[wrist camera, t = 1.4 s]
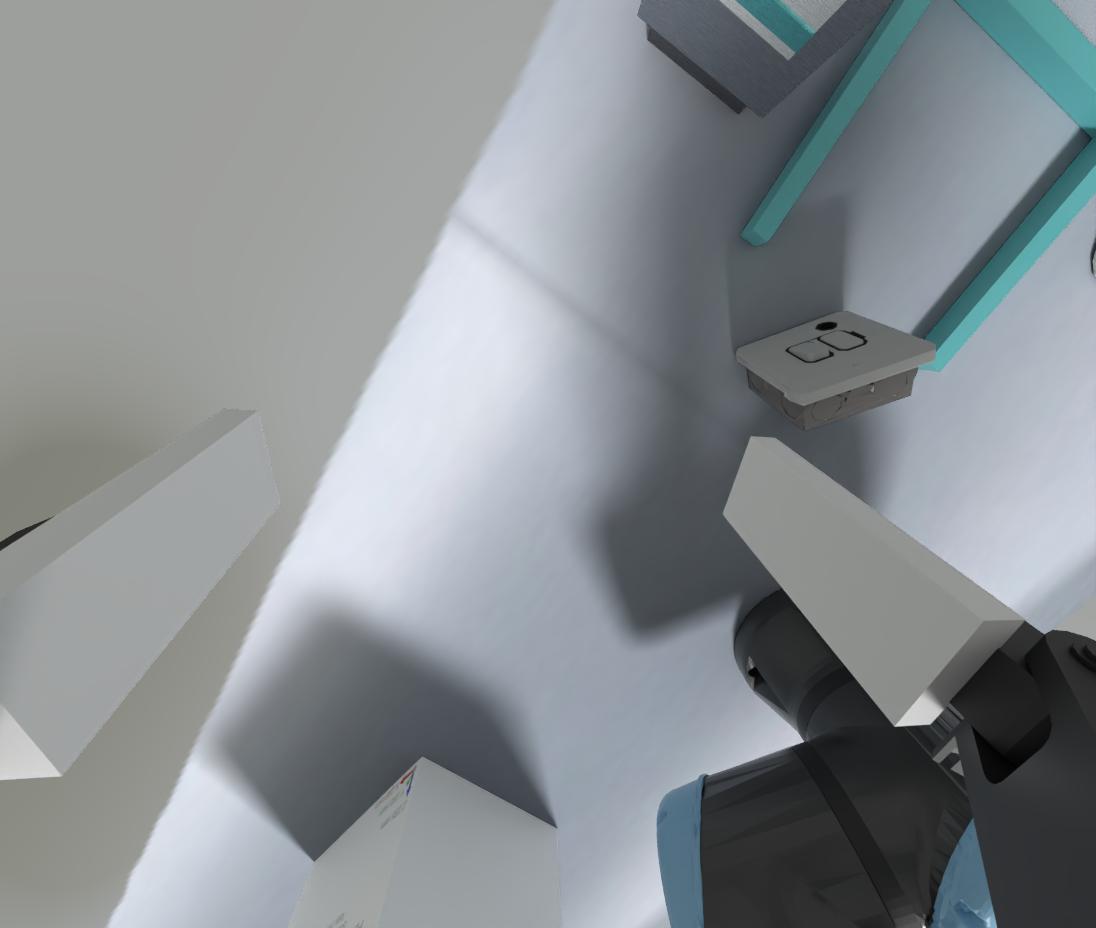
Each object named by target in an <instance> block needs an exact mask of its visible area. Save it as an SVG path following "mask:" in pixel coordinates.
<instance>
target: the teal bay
mask: <svg viewBox="0 0 1096 928" xmlns="http://www.w3.org/2000/svg"><path fill="white" fill-rule="evenodd" d="M931 1H932V0H894V1H893V3H892V4H891V6H890V8H889V9H888V11H887V12H886V14H885V15H884V17H883V18H882V20H881V21H880V23H879V24H878V26H877V27H876V29H875V30H874V32H873V33H872V35H871V36H870V38H869V40H868V41H867V43H866V44H865V46H864V47H863V49H862V50H861V52H860V53H859V55H858V56H857V58H856V59H855V61H854V62H853V64H852V65H851V67H850V68H849V70H848V72H847V73H846V75H845V76H844V78H843V79H842V81H841V82H840V84H839V85H838V87H837V88H836V90H835V91H834V93H833V94H832V96H831V97H830V99H829V100H828V102H827V103H826V105H825V107H824V108H823V110H822V111H821V113H820V114H819V116H818V117H817V119H816V120H815V122H814V123H813V125H812V126H811V128H810V129H809V131H808V132H807V134H806V135H805V137H804V139H803V140H802V142H801V143H800V145H799V146H798V148H797V149H796V151H795V152H794V154H793V155H792V157H791V158H790V160H789V161H788V163H787V164H786V166H785V167H784V169H783V171H782V172H781V174H780V175H779V177H778V178H777V180H776V181H775V183H774V184H773V186H772V187H771V189H770V190H769V192H768V193H767V195H766V196H765V198H764V199H763V201H762V202H761V204H760V206H759V207H758V209H757V210H756V212H755V213H754V215H753V216H752V218H751V219H750V221H749V222H748V224H747V225H746V227H745V228H744V230H743V231H742V233H741V234H740V236H741V237H742V238H744V239H745V240H746V241H748V242H749V243H750V244H752V245H753V246H754V247H755V246H758V245H761V244H764V243H767V242H768V241H769V240H770V238H771V237H772V236H773V234H774V233H775V231H776V230H777V228H778V227H779V225H780V224H781V222H782V221H783V219H784V218H785V216H786V215H787V213H788V212H789V210H790V209H791V208H792V206H793V205H794V203H795V202H796V200H797V199H798V197H799V196H800V194H801V193H802V191H803V190H804V188H805V187H806V185H807V184H808V182H809V181H810V179H811V178H812V177H813V175H814V174H815V172H816V171H817V169H818V168H819V166H820V165H821V163H822V162H823V160H824V159H825V157H826V156H827V154H828V153H829V151H830V150H831V149H832V147H833V146H834V144H835V143H836V141H837V140H838V138H839V137H840V135H841V134H842V132H843V131H844V129H845V128H846V126H847V125H848V123H849V122H850V121H851V119H852V118H853V116H854V115H855V113H856V112H857V110H858V109H859V107H860V106H861V104H862V103H863V101H864V100H865V98H866V97H867V95H868V94H869V93H870V91H871V90H872V88H873V87H874V85H875V84H876V82H877V81H878V79H879V78H880V76H881V75H882V73H883V72H884V70H885V69H886V67H887V66H888V65H889V63H890V62H891V60H892V59H893V57H894V56H895V54H896V53H897V51H898V50H899V48H900V47H901V45H902V44H903V42H904V41H905V39H906V38H907V36H908V35H909V34H910V32H911V31H912V29H913V28H914V26H915V25H916V23H917V22H918V20H919V19H920V17H921V16H922V14H923V13H924V11H925V10H926V8H927V7H928V6H929V4H930V3H931ZM955 1H956V2H957V3H958V4H959V5H960V6H961V7H962V8H963V9H964V10H965V11H966V12H967V13H968V14H969V15H970V16H971V17H972V18H973V19H974V20H975V21H976V22H977V23H978V24H979V25H980V26H981V27H982V28H983V29H984V30H985V31H986V32H987V33H988V34H989V35H990V36H991V37H992V38H993V39H994V40H995V41H996V42H997V43H998V44H999V45H1000V46H1001V47H1002V48H1003V49H1004V50H1005V51H1006V52H1007V54H1008V55H1009V56H1010V57H1011V58H1012V59H1013V60H1014V61H1015V62H1016V63H1017V64H1018V65H1019V66H1020V67H1021V68H1022V69H1023V70H1024V71H1025V72H1026V73H1027V74H1028V75H1029V76H1030V77H1031V78H1032V79H1033V80H1034V81H1035V82H1036V83H1037V84H1038V85H1039V86H1040V87H1041V88H1042V89H1043V90H1044V91H1045V92H1046V93H1047V94H1048V95H1049V96H1050V97H1051V98H1052V99H1053V100H1054V101H1055V102H1056V103H1057V104H1058V105H1059V106H1060V107H1061V108H1062V109H1063V110H1064V111H1065V112H1066V113H1067V114H1068V115H1069V116H1070V117H1071V118H1072V119H1073V120H1074V121H1075V122H1076V123H1077V124H1078V125H1079V126H1080V127H1081V128H1082V129H1083V130H1084V131H1085V132H1086V133H1087V134H1088V135H1089V136H1090V137H1091V138H1092V139H1091V141H1090V142H1089V143H1088V144H1087V145H1086V146H1085V148H1084V149H1083V150H1082V151H1081V152H1080V154H1079V155H1078V156H1077V157H1076V158H1075V160H1074V161H1073V162H1072V163H1071V164H1070V166H1069V167H1068V168H1067V169H1066V170H1065V172H1064V173H1063V174H1062V175H1061V176H1060V178H1059V179H1058V180H1057V181H1056V182H1055V184H1054V185H1053V186H1052V187H1051V188H1050V189H1049V191H1048V192H1047V193H1046V194H1045V195H1044V197H1043V198H1042V199H1041V200H1040V201H1039V203H1038V204H1037V205H1036V206H1035V207H1034V209H1033V210H1032V211H1031V212H1030V213H1029V215H1028V216H1027V217H1026V218H1025V219H1024V221H1023V222H1022V223H1021V224H1020V225H1019V226H1018V228H1017V229H1016V230H1015V231H1014V232H1013V234H1012V235H1011V236H1010V237H1009V238H1008V240H1007V241H1006V242H1005V243H1004V244H1003V246H1002V247H1001V248H1000V249H999V250H998V252H997V253H996V254H995V255H994V256H993V258H992V259H991V260H990V261H989V262H988V264H987V265H986V266H985V267H984V268H983V269H982V271H981V272H980V273H979V274H978V275H977V277H976V278H975V279H974V280H973V281H972V283H971V284H970V285H969V286H968V287H967V289H966V290H965V291H964V292H963V293H962V295H961V296H960V297H959V298H958V299H957V301H956V302H955V303H954V304H953V305H952V306H951V308H950V309H949V310H948V311H947V312H946V314H945V315H944V316H943V317H942V318H941V320H940V321H939V322H938V323H937V324H936V326H935V327H934V328H933V329H932V330H931V332H930V333H929V334H928V335H927V336H926V338H925V339H924V340H926V341H929V342H932V343H935V344H936V358H935V360H934V361H933V362H931V363H928V364H925V365H922V366H919V367H918V369H922V370H930V371H938V372H940V371H941V370H942V369H943V368H944V367H945V365H946V364H947V363H948V362H949V361H950V360H951V358H952V357H953V356H954V355H955V354H956V353H957V352H958V350H959V349H960V348H961V347H962V346H963V345H964V343H965V342H966V341H967V340H968V339H969V338H970V337H971V335H972V334H973V333H974V332H975V331H976V330H977V329H978V327H979V326H980V325H981V324H982V323H983V322H984V320H985V319H986V318H987V317H988V316H989V315H990V314H991V312H992V311H993V310H994V309H995V308H996V307H997V306H998V304H999V303H1000V302H1001V301H1002V300H1003V299H1004V297H1005V296H1006V295H1007V294H1008V293H1009V292H1010V291H1011V289H1012V288H1013V287H1014V286H1015V285H1016V284H1017V283H1018V281H1019V280H1020V279H1021V278H1022V277H1023V276H1024V274H1025V273H1026V272H1027V271H1028V270H1029V269H1030V268H1031V266H1032V265H1033V264H1034V263H1035V262H1036V261H1037V260H1038V258H1039V257H1040V256H1041V255H1042V254H1043V253H1044V251H1045V250H1046V249H1047V248H1048V247H1049V246H1050V245H1051V243H1052V242H1053V241H1054V240H1055V239H1056V238H1057V236H1058V235H1059V234H1060V233H1061V232H1062V231H1063V230H1064V228H1065V227H1066V226H1067V225H1068V224H1069V223H1070V222H1071V220H1072V219H1073V218H1074V217H1075V216H1076V215H1077V213H1078V212H1079V211H1080V210H1081V209H1082V208H1083V207H1084V205H1085V204H1086V203H1087V202H1088V201H1089V200H1090V199H1091V197H1092V196H1093V195H1094V194H1095V193H1096V48H1095V47H1094V46H1093V45H1092V44H1091V43H1090V41H1089V40H1088V39H1087V38H1086V37H1085V36H1084V35H1083V34H1082V33H1081V32H1080V31H1079V30H1078V29H1077V27H1076V26H1075V25H1074V24H1073V23H1072V22H1071V21H1070V20H1069V19H1068V18H1067V17H1066V16H1065V15H1064V13H1063V12H1062V11H1061V10H1060V9H1059V8H1058V7H1057V6H1056V5H1055V4H1054V3H1053V2H1052V1H1051V0H955Z"/></svg>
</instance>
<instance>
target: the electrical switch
mask: <svg viewBox="0 0 1096 928" xmlns="http://www.w3.org/2000/svg"><path fill="white" fill-rule="evenodd" d="M935 358H936V344H935V343H932V342H929V341H926V340H924V339H921V338H918V337H916V336H913V335H910V334H908V333H905V332H902V331H899V330H897V329H894V328H891V327H889V326H886V325H883V324H881V323H878V322H875V321H873V320H870V319H867V318H864V317H862V316H859V315H856V314H854V313H851V312H848V311H845V312H835V313H832V314H830V315H827V316H824V317H822V318H819V319H816V320H813V321H811V322H808V323H805V324H802V325H800V326H797V327H794V328H791V329H789V330H786V331H783V332H780V333H778V334H775V335H772V336H769V337H767V338H764V339H761V340H758V341H756V342H753V343H750V344H747V345H745V346H742V347H739V348H738V349H737V351H736V360H737V362H738V363H739V364H741V365H743V366H745V367H746V368H747V372H748V375H749V388H750V389H751V390H752V391H754V392H755V393H756V394H757V395H759V396H760V397H761V398H762V399H764V400H765V401H766V402H767V403H769V404H770V405H771V406H772V407H774V408H775V409H776V410H777V411H779V412H780V413H781V414H782V415H784V416H785V417H786V418H787V419H789V420H790V421H791V422H792V423H794V424H795V425H796V426H797V427H799V428H800V429H801V430H802V431H803V424H804V431H808V430H811V429H814V428H817V427H819V426H822V425H825V424H828V423H831V422H834V421H837V420H840V419H843V418H846V417H849V416H852V415H855V414H858V413H861V412H864V411H866V410H869V409H872V408H875V407H878V406H881V405H884V404H887V403H890V402H893V401H896V400H899V399H902V398H905V397H908V396H911V391H912V385H913V380H914V378H915V376H916V374H917V371H918V367H919V366H922V365H925V364H928V363H931V362H933V361H934V360H935ZM767 386H768V387H767ZM873 386H874V393H872V392H871V391H870V390H871V389H872V387H873ZM847 391H848V392H847ZM837 394H839V396H838V395H837ZM895 394H896V395H895ZM894 395H895V396H894ZM840 404H841V406H840ZM825 419H827V420H825Z"/></svg>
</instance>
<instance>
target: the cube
mask: <svg viewBox="0 0 1096 928" xmlns="http://www.w3.org/2000/svg"><path fill="white" fill-rule="evenodd" d="M287 928H562V916H561V892H560V869H559V845H558V829H557V828H555V827H553V826H551V825H550V824H548V823H546V822H544V821H542V820H540V819H538V818H536V817H535V816H533V815H531V814H529V813H527V812H525V811H523V810H522V809H520V808H518V807H516V806H514V805H512V804H510V803H508V802H507V801H505V800H503V799H501V798H499V797H497V796H495V795H493V794H492V793H490V792H488V791H486V790H484V789H482V788H480V787H479V786H477V785H475V784H473V783H471V782H469V781H467V780H465V779H464V778H462V777H460V776H458V775H456V774H454V773H452V772H450V771H449V770H447V769H445V768H443V767H441V766H439V765H437V764H436V763H434V762H432V761H430V760H428V759H426V758H424V757H421V758H420V759H419V760H418V761H417V762H416V763H415V764H414V765H413V766H412V767H411V768H410V769H409V770H408V771H407V772H406V773H405V774H404V775H403V776H402V777H401V778H400V779H399V780H398V781H397V782H396V783H395V784H394V785H392V786H391V787H390V788H389V789H388V790H387V791H386V792H385V793H384V794H383V795H382V796H381V797H380V798H379V799H378V800H377V801H376V802H375V803H374V804H373V805H372V806H371V807H370V808H369V809H368V810H367V811H366V812H365V813H364V814H363V815H362V816H361V817H360V818H359V819H358V820H357V821H356V822H355V823H354V824H353V825H352V826H350V827H349V828H348V829H347V830H346V831H345V832H344V833H343V834H342V835H341V836H340V837H339V838H338V839H337V840H336V841H335V842H334V843H333V844H332V845H331V846H330V847H329V848H328V849H327V850H326V851H325V852H324V853H323V854H322V855H321V856H320V857H319V858H318V859H317V860H316V861H315V862H314V864H313V866H312V868H311V871H310V873H309V876H308V878H307V881H306V883H305V886H304V888H303V890H302V893H301V895H300V898H299V900H298V903H297V905H296V908H295V910H294V912H293V915H292V917H291V920H290V922H289V925H288V927H287Z"/></svg>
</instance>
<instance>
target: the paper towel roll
mask: <svg viewBox="0 0 1096 928" xmlns="http://www.w3.org/2000/svg"><path fill="white" fill-rule="evenodd" d="M1093 269H1094V275H1095V277H1096V251H1095V255H1094V258H1093Z"/></svg>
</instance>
